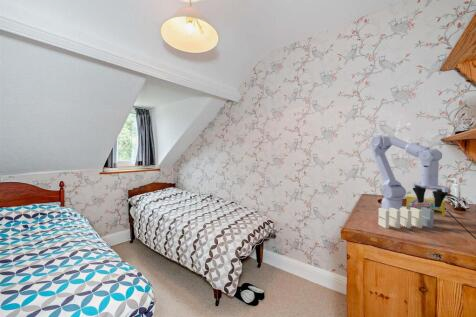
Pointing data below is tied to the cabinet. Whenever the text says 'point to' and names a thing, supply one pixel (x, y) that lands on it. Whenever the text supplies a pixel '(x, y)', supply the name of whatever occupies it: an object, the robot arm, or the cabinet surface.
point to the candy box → (425, 205)
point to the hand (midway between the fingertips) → (428, 204)
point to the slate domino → (428, 217)
